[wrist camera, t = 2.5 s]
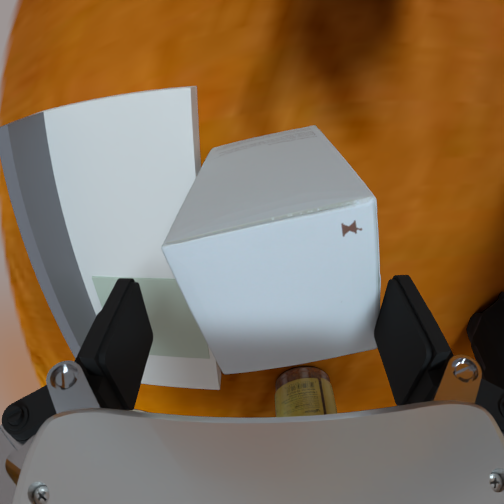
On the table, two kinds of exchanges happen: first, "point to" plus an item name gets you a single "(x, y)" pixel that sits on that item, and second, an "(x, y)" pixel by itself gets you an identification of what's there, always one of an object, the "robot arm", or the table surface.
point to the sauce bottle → (304, 393)
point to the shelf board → (134, 212)
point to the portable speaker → (489, 341)
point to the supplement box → (278, 253)
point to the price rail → (45, 226)
